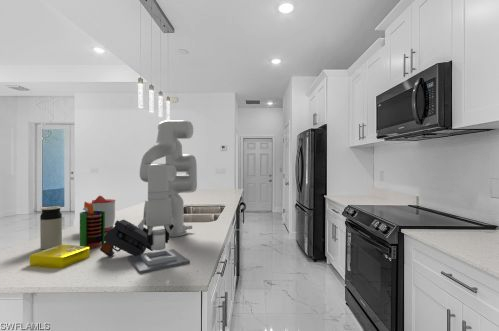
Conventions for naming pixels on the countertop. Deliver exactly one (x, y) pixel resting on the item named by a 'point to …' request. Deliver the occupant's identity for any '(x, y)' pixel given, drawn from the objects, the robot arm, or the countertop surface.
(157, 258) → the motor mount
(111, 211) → the citrus juicer
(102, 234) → the motor
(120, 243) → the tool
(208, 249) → the countertop surface
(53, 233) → the travel mug
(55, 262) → the element tile
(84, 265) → the countertop surface
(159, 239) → the white domed cylinder
